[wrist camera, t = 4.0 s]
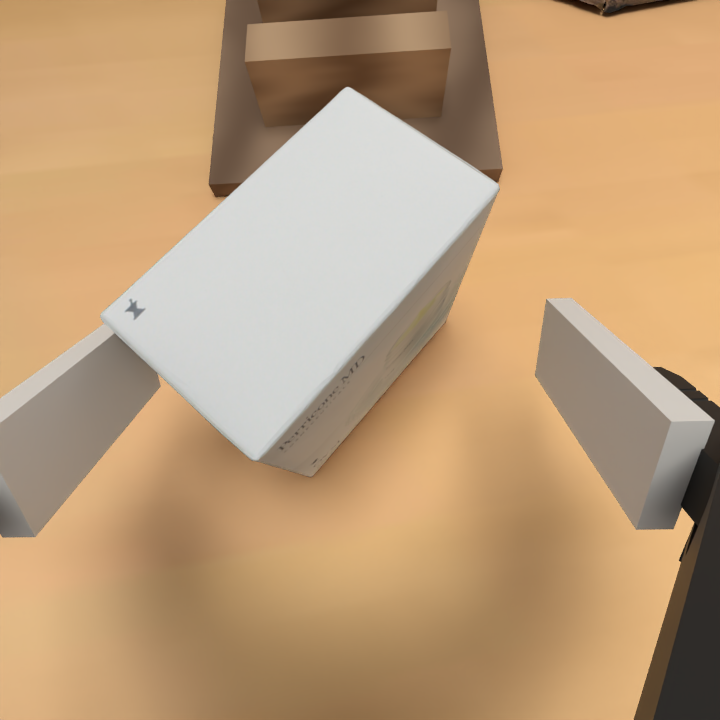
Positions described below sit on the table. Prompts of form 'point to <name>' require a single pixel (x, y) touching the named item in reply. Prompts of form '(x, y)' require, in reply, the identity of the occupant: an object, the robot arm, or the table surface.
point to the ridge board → (447, 132)
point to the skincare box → (311, 283)
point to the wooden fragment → (615, 4)
